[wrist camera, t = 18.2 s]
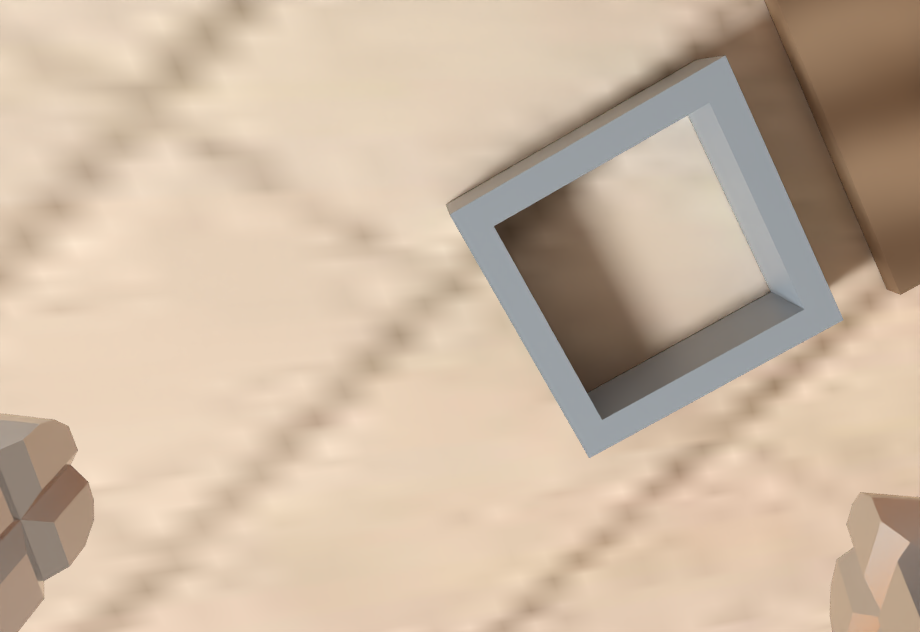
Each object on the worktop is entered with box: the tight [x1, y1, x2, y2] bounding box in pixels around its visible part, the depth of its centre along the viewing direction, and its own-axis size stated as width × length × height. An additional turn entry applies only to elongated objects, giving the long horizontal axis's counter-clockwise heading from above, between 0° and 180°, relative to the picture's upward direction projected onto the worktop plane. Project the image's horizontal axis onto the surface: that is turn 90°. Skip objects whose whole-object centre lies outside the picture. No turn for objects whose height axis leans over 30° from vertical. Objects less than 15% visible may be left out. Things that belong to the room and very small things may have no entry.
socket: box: [446, 55, 843, 458], centre depth 32 cm, size 11×11×3 cm
